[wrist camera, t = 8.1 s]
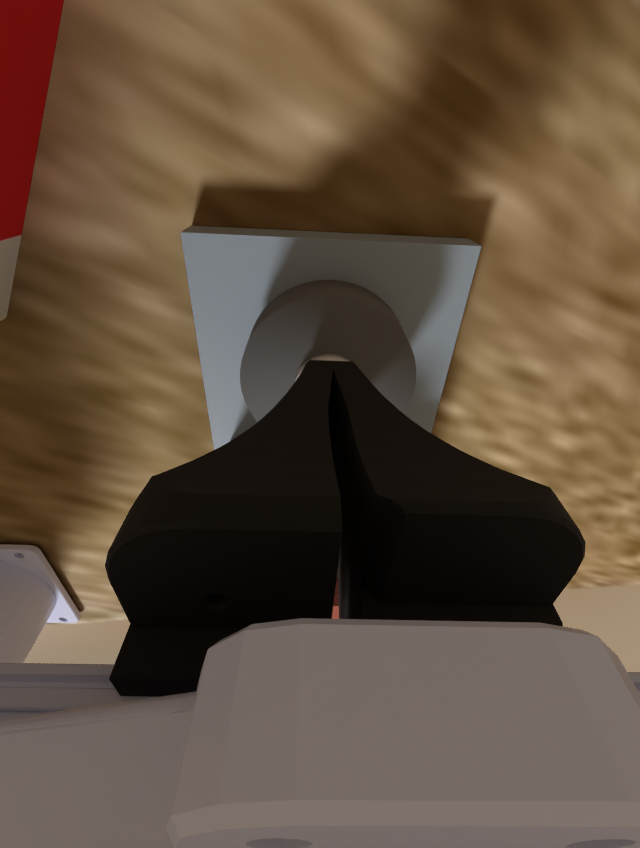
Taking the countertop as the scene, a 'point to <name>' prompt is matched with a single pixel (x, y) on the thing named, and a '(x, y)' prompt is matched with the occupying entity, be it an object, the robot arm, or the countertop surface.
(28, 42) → the puzzle toy
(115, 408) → the countertop surface
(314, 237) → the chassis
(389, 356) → the wheel
